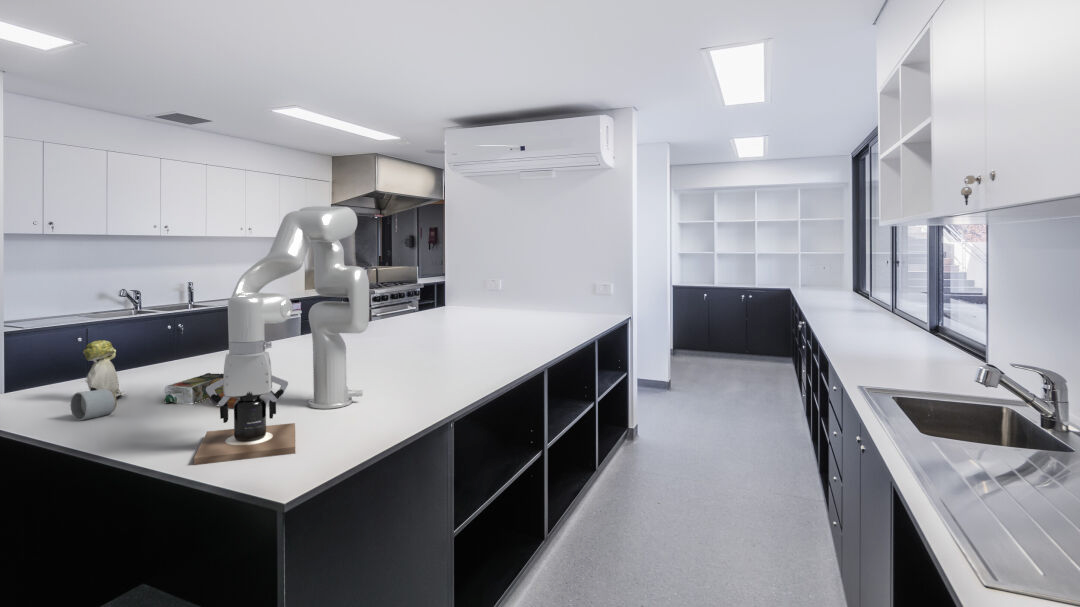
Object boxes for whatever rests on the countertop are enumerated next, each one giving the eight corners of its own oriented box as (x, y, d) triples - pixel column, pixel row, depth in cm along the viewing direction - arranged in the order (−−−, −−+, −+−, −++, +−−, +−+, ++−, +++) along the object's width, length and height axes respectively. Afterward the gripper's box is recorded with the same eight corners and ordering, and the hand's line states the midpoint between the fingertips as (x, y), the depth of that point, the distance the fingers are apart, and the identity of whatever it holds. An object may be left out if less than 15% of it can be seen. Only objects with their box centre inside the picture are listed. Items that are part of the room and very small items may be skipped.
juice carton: (233, 390, 187) (233, 373, 187) (191, 406, 168) (190, 387, 167) (206, 389, 188) (206, 372, 188) (161, 404, 168) (160, 385, 168)
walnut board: (295, 428, 146) (295, 422, 146) (295, 453, 128) (295, 446, 128) (207, 437, 138) (207, 430, 138) (194, 464, 120) (193, 457, 120)
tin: (207, 404, 169) (206, 377, 168) (216, 402, 172) (215, 375, 171) (243, 410, 163) (242, 382, 162) (252, 407, 166) (251, 380, 165)
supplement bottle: (253, 443, 129) (251, 392, 128) (227, 441, 130) (226, 390, 130) (272, 434, 136) (271, 386, 135) (248, 432, 137) (247, 384, 136)
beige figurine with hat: (132, 393, 181) (130, 337, 179) (117, 403, 168) (114, 343, 167) (88, 395, 177) (85, 338, 175) (69, 406, 164) (66, 344, 163)
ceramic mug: (119, 414, 157) (118, 387, 156) (86, 422, 149) (85, 394, 148) (96, 410, 161) (94, 384, 160) (62, 417, 153) (61, 390, 152)
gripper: (287, 344, 138) (288, 411, 140) (207, 347, 131) (209, 418, 133) (287, 348, 131) (288, 419, 133) (202, 352, 124) (204, 427, 126)
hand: (248, 419), depth 133 cm, fingers open, 9 cm apart
